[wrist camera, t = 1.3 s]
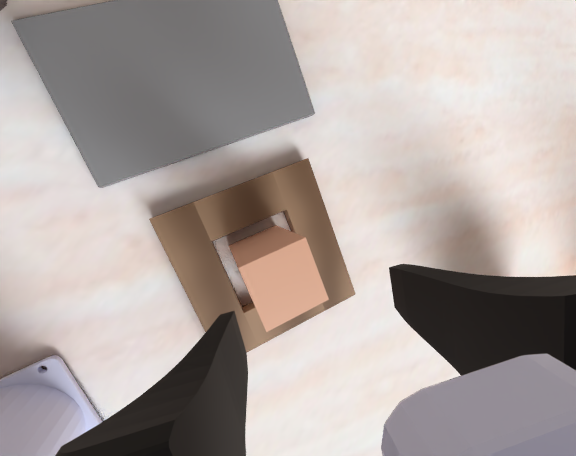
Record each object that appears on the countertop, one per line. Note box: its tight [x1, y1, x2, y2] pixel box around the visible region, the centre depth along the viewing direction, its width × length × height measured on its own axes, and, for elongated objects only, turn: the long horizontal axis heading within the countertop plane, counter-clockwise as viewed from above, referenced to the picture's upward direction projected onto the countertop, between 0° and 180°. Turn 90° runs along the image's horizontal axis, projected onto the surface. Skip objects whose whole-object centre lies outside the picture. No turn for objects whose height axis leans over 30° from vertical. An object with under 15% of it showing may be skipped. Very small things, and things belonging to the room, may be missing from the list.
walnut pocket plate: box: [150, 158, 355, 353], centre depth 21 cm, size 12×12×1 cm
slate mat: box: [11, 0, 315, 188], centre depth 18 cm, size 16×10×1 cm, turn 110°
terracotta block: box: [229, 225, 329, 332], centre depth 18 cm, size 4×4×7 cm
